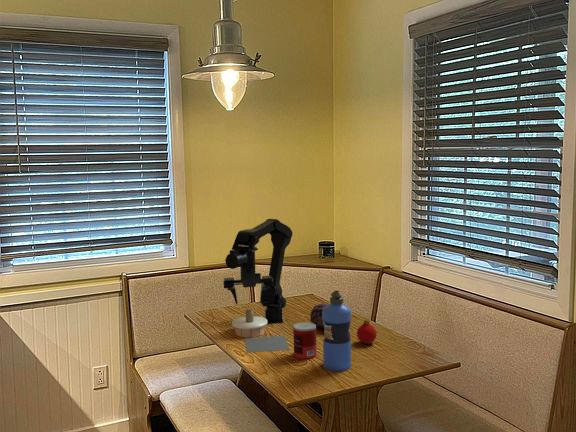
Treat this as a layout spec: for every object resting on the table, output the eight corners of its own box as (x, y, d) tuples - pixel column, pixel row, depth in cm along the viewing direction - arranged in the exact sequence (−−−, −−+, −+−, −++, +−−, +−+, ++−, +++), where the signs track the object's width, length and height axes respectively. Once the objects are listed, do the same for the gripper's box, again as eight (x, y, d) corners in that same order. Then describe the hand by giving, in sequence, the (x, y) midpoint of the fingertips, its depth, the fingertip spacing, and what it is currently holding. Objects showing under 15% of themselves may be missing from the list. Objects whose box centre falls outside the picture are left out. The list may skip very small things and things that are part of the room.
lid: (265, 317, 235) (265, 304, 234) (269, 327, 221) (268, 314, 220) (231, 319, 233) (230, 306, 232) (232, 330, 219) (232, 316, 219)
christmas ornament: (371, 338, 218) (371, 312, 217) (380, 345, 212) (380, 318, 210) (353, 341, 216) (353, 314, 215) (362, 347, 210) (361, 320, 208)
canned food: (319, 353, 205) (318, 323, 203) (312, 362, 197) (312, 330, 196) (298, 351, 207) (297, 321, 206) (290, 359, 200) (290, 328, 198)
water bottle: (331, 373, 187) (330, 296, 184) (318, 363, 196) (317, 289, 192) (356, 368, 191) (356, 292, 188) (343, 358, 199) (342, 286, 196)
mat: (284, 336, 223) (284, 335, 223) (289, 350, 208) (289, 349, 208) (244, 339, 221) (244, 338, 221) (247, 353, 206) (247, 352, 206)
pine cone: (344, 334, 224) (344, 308, 223) (320, 337, 221) (320, 311, 220) (327, 320, 241) (327, 297, 240) (304, 323, 238) (304, 299, 237)
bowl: (263, 327, 234) (262, 318, 233) (265, 337, 222) (265, 327, 222) (234, 329, 232) (234, 319, 232) (236, 339, 221) (235, 329, 220)
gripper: (223, 269, 215) (224, 311, 217) (274, 267, 217) (275, 308, 219) (222, 263, 226) (224, 303, 228) (271, 261, 228) (272, 300, 230)
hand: (248, 303), depth 226 cm, fingers open, 9 cm apart
